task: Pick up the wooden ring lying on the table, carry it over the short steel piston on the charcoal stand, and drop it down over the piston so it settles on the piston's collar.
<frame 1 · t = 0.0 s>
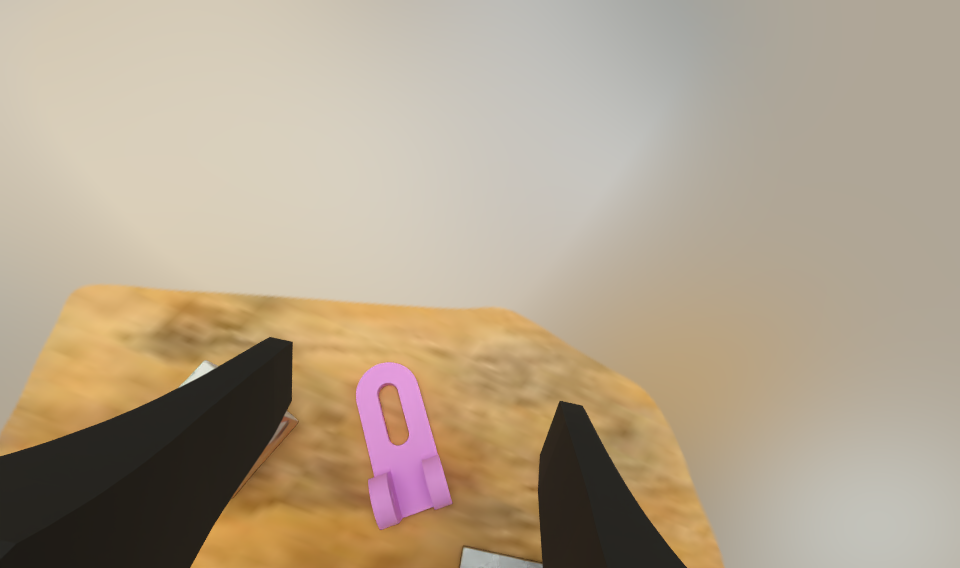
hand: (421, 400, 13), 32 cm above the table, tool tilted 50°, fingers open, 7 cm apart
bracket: (399, 435, 43), on the table
small box: (245, 438, 42), on the table
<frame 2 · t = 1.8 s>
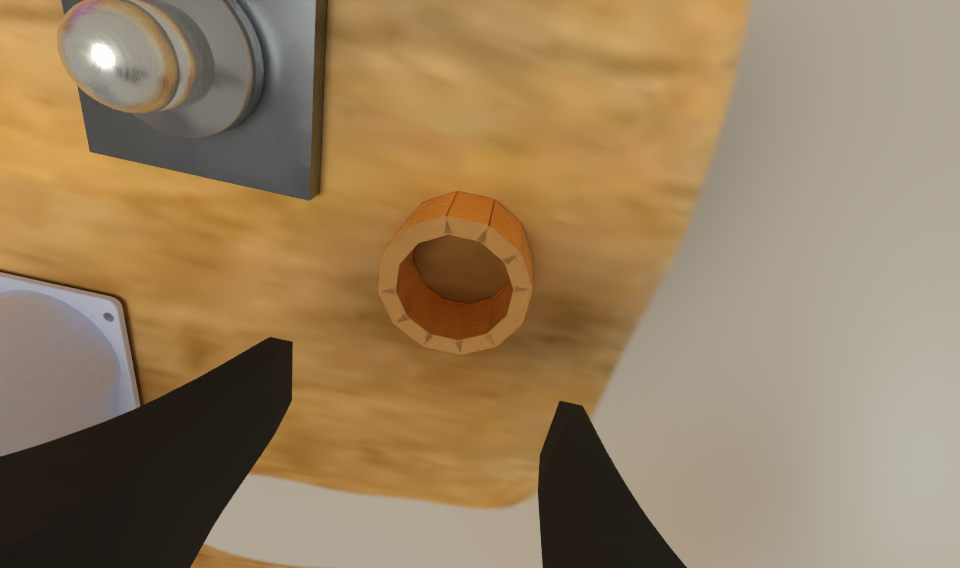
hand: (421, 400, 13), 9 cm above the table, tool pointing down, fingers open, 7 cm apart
wooden ring: (463, 258, 21), on the table
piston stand: (206, 53, 18), on the table
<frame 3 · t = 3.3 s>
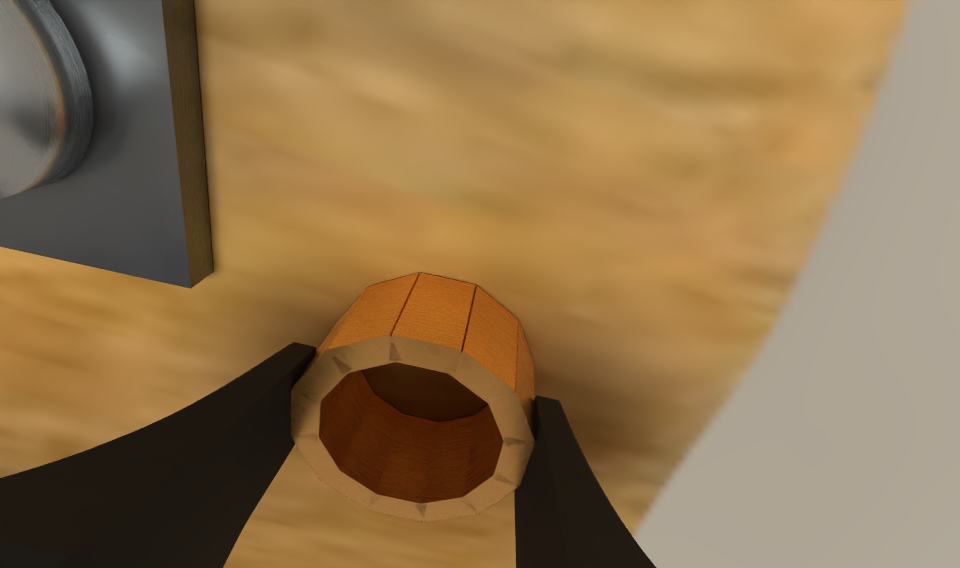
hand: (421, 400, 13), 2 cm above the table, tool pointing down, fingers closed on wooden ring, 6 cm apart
wooden ring: (432, 363, 14), on the table, touching gripper
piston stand: (13, 63, 11), on the table
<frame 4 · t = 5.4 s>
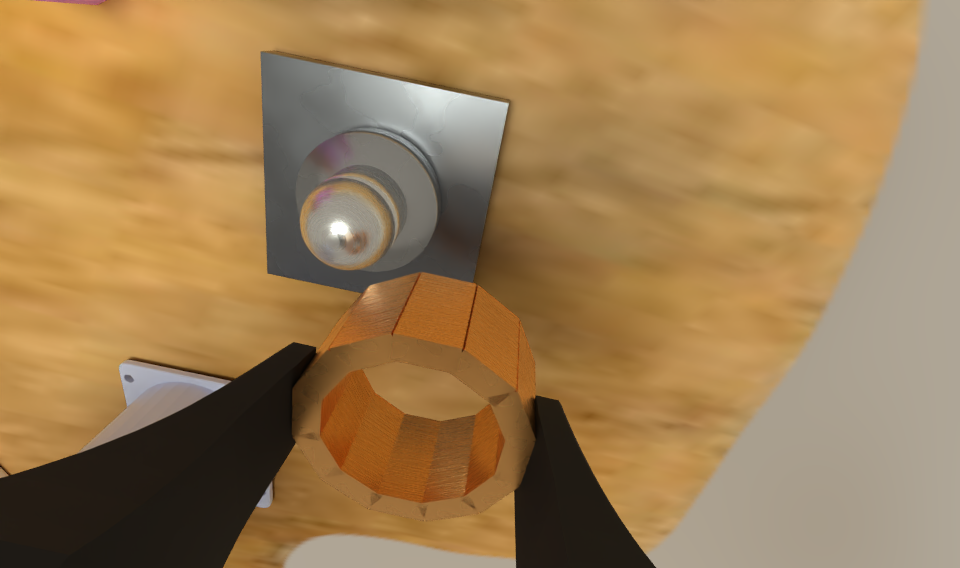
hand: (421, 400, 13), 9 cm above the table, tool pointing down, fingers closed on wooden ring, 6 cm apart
wooden ring: (433, 363, 14), point 8 cm above the table, touching gripper
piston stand: (381, 190, 20), on the table
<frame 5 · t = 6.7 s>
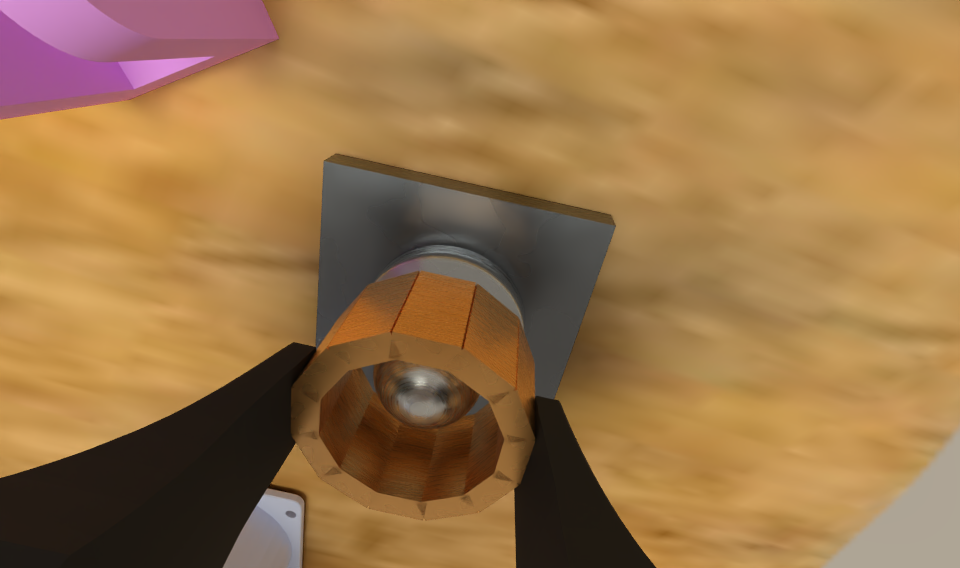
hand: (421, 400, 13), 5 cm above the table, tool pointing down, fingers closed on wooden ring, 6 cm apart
wooden ring: (432, 361, 14), point 4 cm above the table, touching gripper
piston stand: (450, 303, 17), on the table
when the fingers open (5 cm above the table, at t = 7.7 s): wooden ring drops 1 cm, resting on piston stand.
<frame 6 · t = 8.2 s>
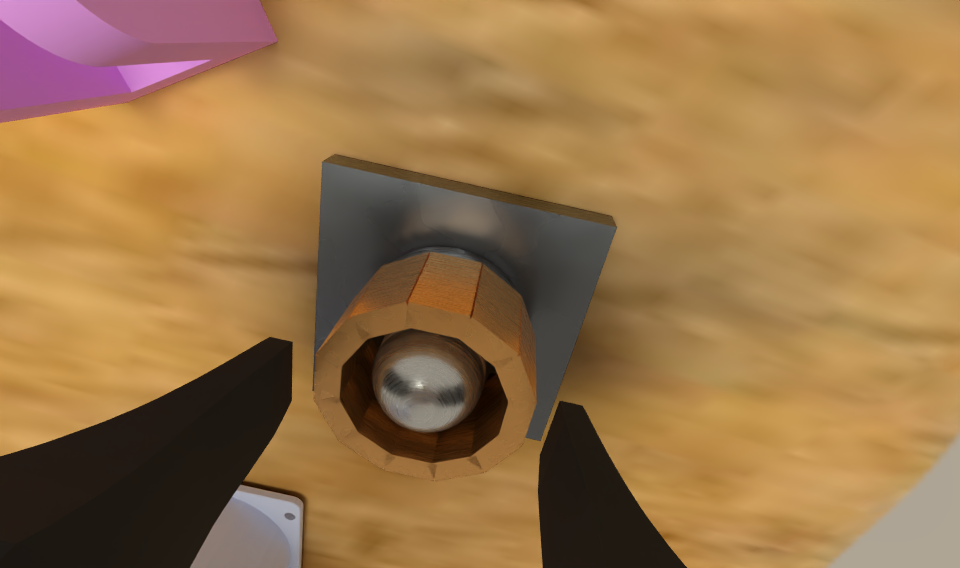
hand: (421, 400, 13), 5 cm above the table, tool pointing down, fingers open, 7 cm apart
wooden ring: (441, 337, 15), point 2 cm above the table, touching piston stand
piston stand: (449, 305, 17), on the table
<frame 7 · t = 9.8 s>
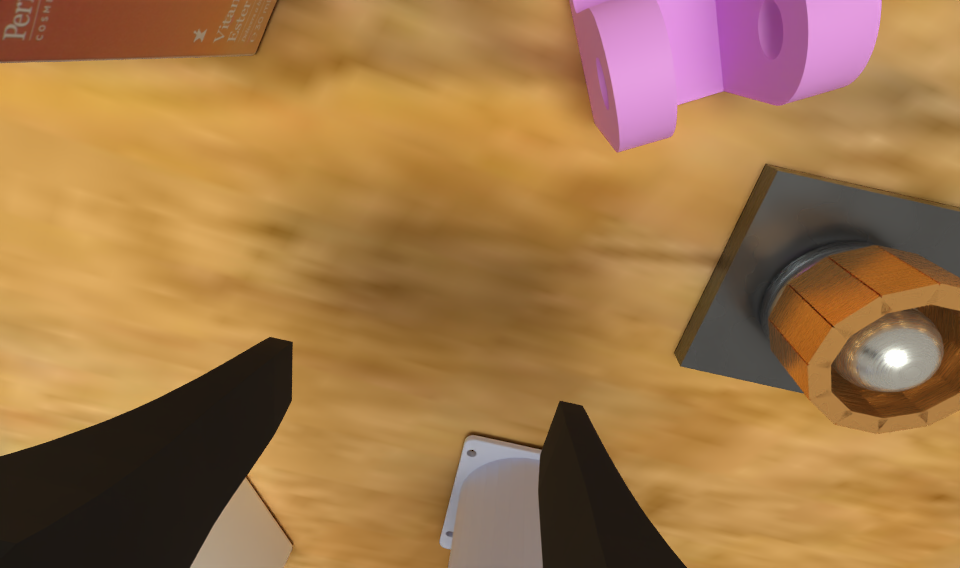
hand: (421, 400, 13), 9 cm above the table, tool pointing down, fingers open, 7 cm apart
wooden ring: (851, 317, 18), point 2 cm above the table, touching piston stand
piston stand: (818, 291, 20), on the table
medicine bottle: (226, 513, 31), on the table
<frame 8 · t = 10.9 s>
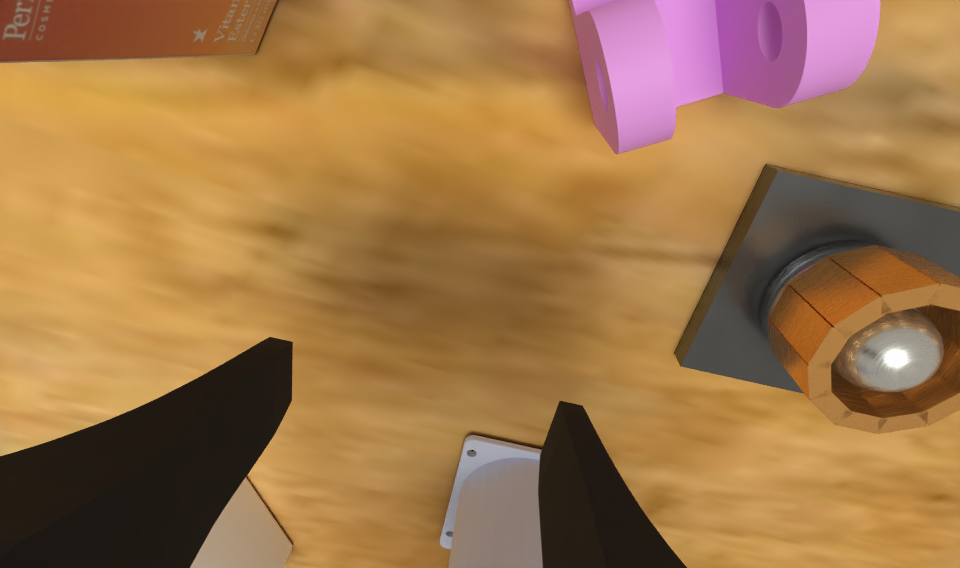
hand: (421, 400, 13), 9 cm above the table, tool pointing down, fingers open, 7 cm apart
wooden ring: (851, 317, 18), point 2 cm above the table, touching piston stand
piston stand: (818, 291, 20), on the table
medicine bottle: (226, 513, 31), on the table
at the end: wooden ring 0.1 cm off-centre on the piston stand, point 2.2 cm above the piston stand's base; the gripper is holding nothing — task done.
